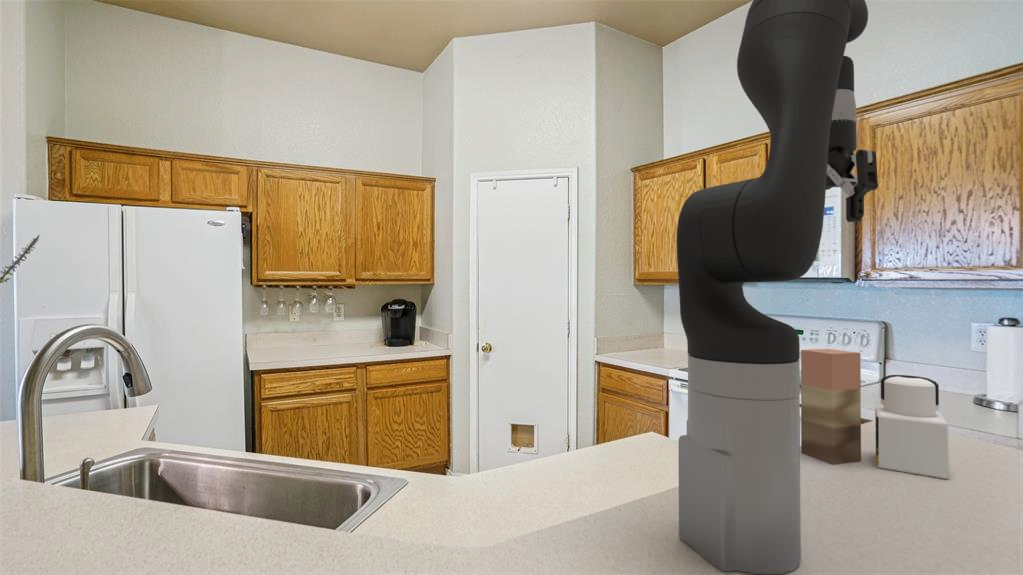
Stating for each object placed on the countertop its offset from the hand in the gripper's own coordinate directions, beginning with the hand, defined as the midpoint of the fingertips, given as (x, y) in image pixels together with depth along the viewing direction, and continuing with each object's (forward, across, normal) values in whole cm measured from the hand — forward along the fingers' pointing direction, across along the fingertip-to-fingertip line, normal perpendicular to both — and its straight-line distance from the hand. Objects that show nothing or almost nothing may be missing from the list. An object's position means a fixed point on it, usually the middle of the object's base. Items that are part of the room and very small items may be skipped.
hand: (828, 225), depth 78 cm
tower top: (+29, -7, +8) cm, 31 cm away
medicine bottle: (+34, -13, +1) cm, 37 cm away
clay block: (+24, -7, +8) cm, 26 cm away
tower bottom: (+34, -7, +8) cm, 36 cm away
